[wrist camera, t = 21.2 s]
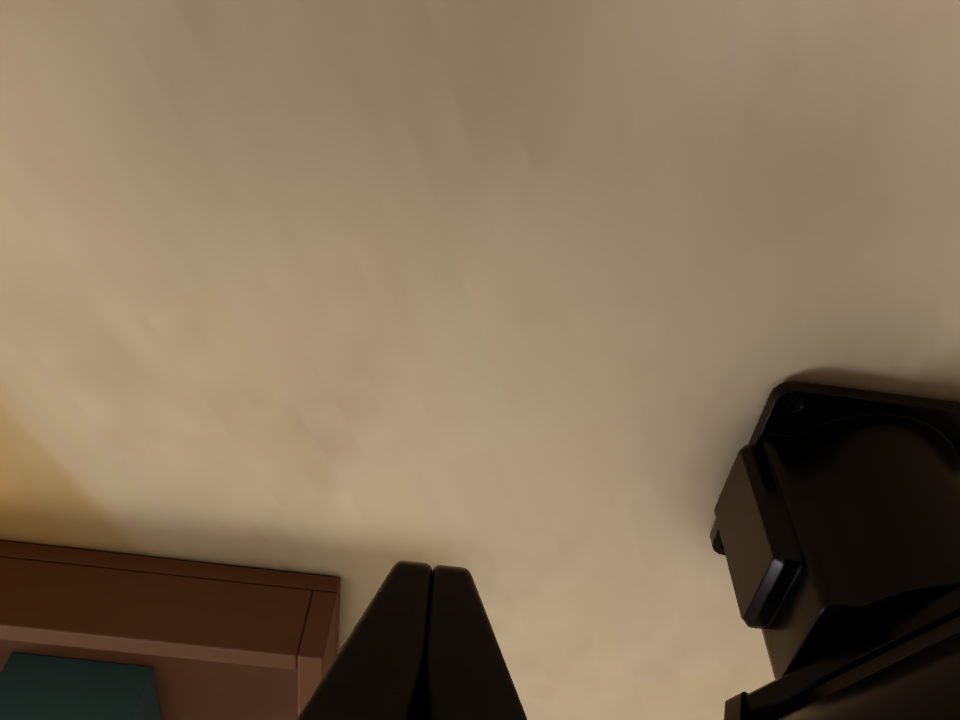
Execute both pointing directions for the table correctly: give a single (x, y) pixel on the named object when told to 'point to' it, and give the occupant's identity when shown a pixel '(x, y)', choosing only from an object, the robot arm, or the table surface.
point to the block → (76, 690)
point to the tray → (176, 626)
